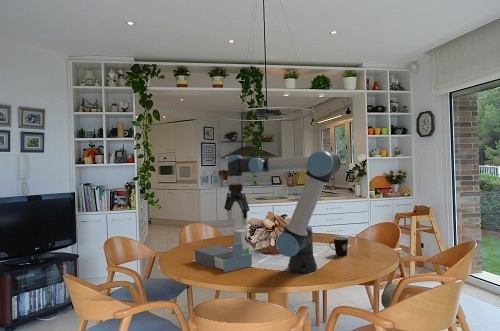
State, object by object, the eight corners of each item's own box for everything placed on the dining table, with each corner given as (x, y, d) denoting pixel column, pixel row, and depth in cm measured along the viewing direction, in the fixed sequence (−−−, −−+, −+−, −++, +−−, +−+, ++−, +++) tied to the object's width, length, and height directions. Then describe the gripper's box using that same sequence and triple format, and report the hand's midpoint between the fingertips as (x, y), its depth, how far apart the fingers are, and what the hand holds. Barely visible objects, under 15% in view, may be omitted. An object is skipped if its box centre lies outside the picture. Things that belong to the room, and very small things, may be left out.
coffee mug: (347, 253, 216) (346, 236, 216) (350, 256, 207) (349, 239, 208) (328, 253, 217) (327, 237, 217) (330, 256, 209) (329, 239, 209)
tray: (252, 265, 194) (251, 241, 194) (224, 272, 183) (223, 246, 183) (232, 259, 210) (231, 236, 210) (205, 265, 199) (204, 241, 199)
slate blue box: (239, 262, 204) (239, 250, 204) (212, 268, 193) (212, 255, 193) (221, 256, 220) (220, 245, 220) (195, 261, 209) (194, 249, 209)
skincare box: (241, 257, 215) (240, 231, 216) (233, 256, 219) (232, 231, 220) (250, 254, 222) (249, 229, 222) (241, 253, 226) (241, 228, 226)
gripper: (255, 183, 182) (256, 224, 182) (228, 183, 202) (229, 220, 202) (243, 184, 178) (245, 226, 177) (217, 184, 197) (218, 222, 197)
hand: (237, 223), depth 189 cm, fingers open, 13 cm apart
